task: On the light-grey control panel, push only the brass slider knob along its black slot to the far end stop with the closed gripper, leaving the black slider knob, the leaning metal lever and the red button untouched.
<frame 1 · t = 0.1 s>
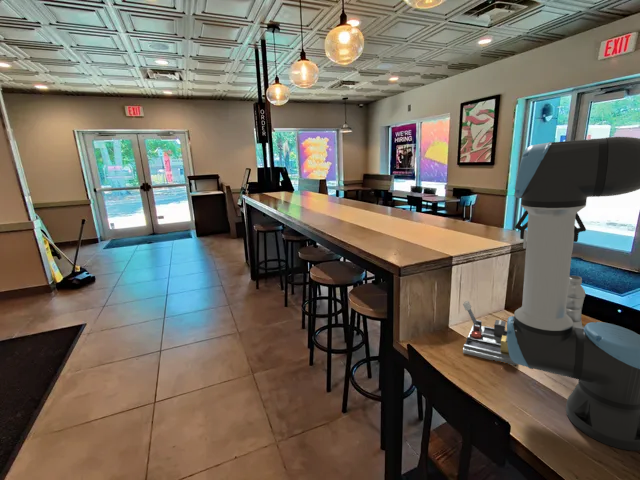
hand: (546, 249, 114), 28 cm above the table, fingers open, 13 cm apart
slider brass: (506, 344, 100), point 4 cm above the table, slide at 0.0 cm
plastic bottle: (569, 331, 112), on the table
panel: (492, 345, 107), on the table
lever: (471, 315, 114), point 7 cm above the table, hinge at -25.0°
slider black: (499, 328, 109), point 4 cm above the table, slide at 3.0 cm
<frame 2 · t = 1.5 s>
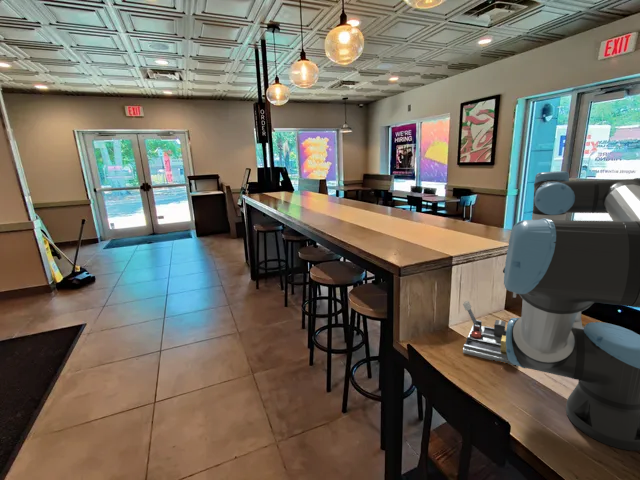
hand: (541, 300, 92), 21 cm above the table, fingers open, 13 cm apart
nothing on the table moved.
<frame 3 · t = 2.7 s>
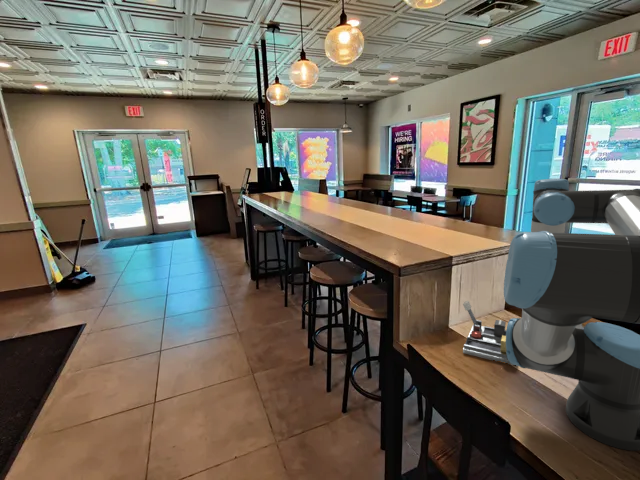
hand: (540, 314, 93), 16 cm above the table, fingers closed
nothing on the table moved.
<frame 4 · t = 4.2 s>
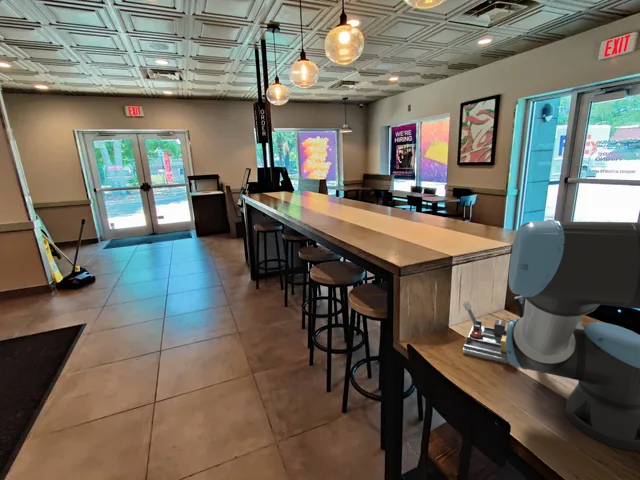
hand: (535, 351, 96), 4 cm above the table, fingers closed
nothing on the table moved.
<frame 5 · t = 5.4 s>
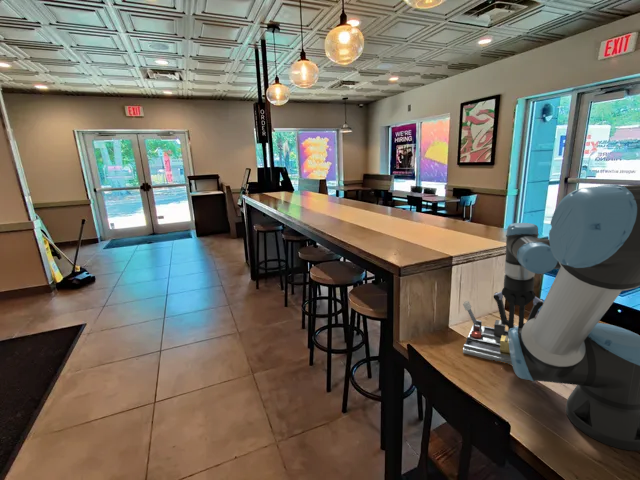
hand: (514, 346, 99), 4 cm above the table, fingers closed
slider brass: (506, 344, 100), point 4 cm above the table, slide at 0.2 cm, touching gripper
everything else where it was.
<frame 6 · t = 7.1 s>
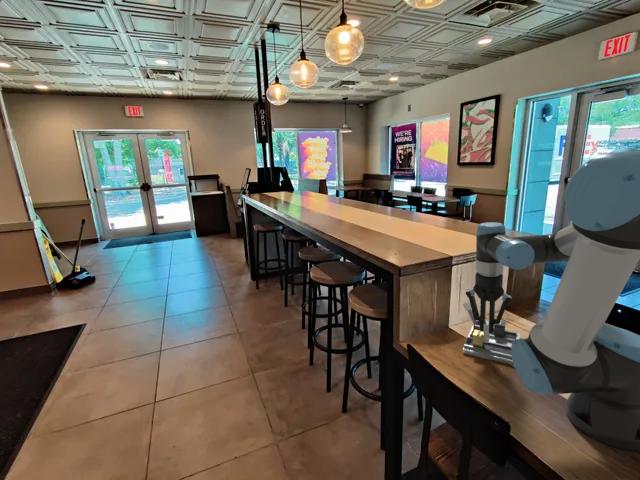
hand: (486, 340, 103), 4 cm above the table, fingers closed
slider brass: (478, 338, 104), point 4 cm above the table, slide at 8.0 cm, touching gripper
everything else where it was.
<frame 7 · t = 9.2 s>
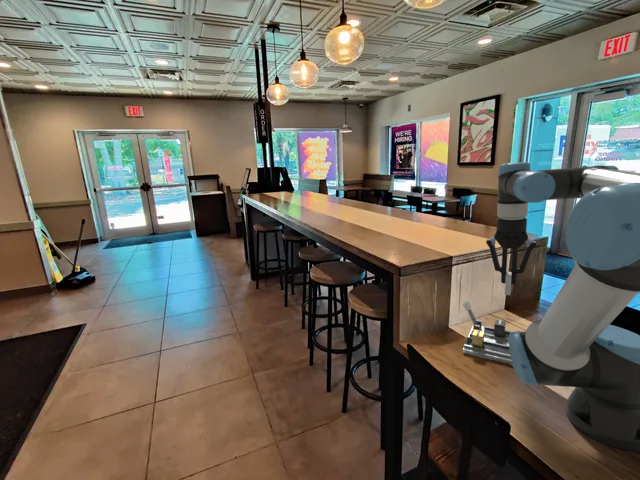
hand: (507, 293, 97), 21 cm above the table, fingers closed
slider brass: (478, 338, 105), point 4 cm above the table, slide at 8.2 cm
everything else where it was.
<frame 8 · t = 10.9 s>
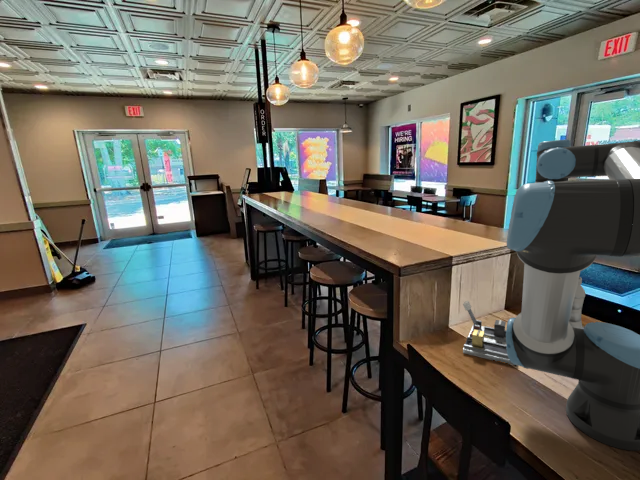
hand: (543, 273, 96), 26 cm above the table, fingers closed
nothing on the table moved.
at the end: slider brass slide at 8.2 cm; slider black slide at 3.0 cm; lever at -25° (first picture: -25°) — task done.
